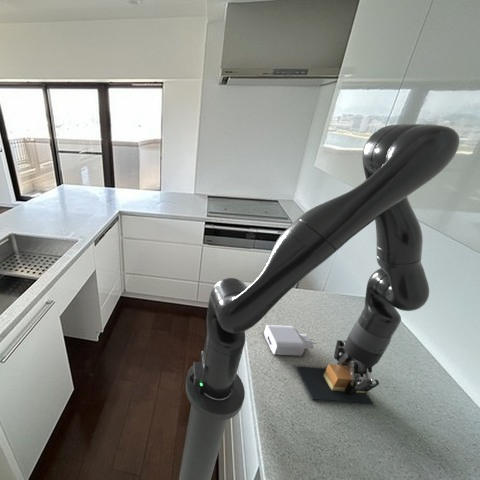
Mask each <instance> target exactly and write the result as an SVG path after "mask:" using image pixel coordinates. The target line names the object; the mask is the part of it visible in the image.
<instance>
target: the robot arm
mask: <svg viewBox="0 0 480 480" xmlns="http://www.w3.org/2000/svg"><path fill="white" fill-rule="evenodd" d="M459 147H460V135H459V133H458V132H457V131H456V130H455V129H454V128H452V127H449V126H446V125H441V124H440V125H439V124H425V123H424V124H422V123H421V124H419V123H417V124H415V123H413V124H411V123H399V124H398V123H397V124H388V125H385V126H383V127H381V128H379V129H377V130H376V131H374V133H372V134H371V135H370V137H369V138H368V139H367V141H366V142H365V144H364V147H363V149H362V153H361V155H362V156H361V160H362V166H363V172H364V176H365V180H364V181H363V182H362V183H360V184H359V185H357V186H356V187H354V188H352V189H351V190H349V191H348V192H346V193H343V194H341V195H339V196H336V197H334V198H332V199H330V200H327V201H325V202H323V203H320V204H318V205H316V206H314V207H313V208H311V209H309V210H307V211H305V212H304V213H303V214H301V215H300V216H299V217H298V218H297V219H296V220H295V221H293V223H291V224H290V225H289V226H288V227H287V228H286V229H285V230H284V231H282V233H281V234H280V235H279V237H278V238H277V240H276V241H275V243H274V245H273V247H272V249H271V251H270V253H269V257H268V259H267V260H266V263H265V265H264V266H263V269H262V271H261V272H260V274H259V275H258V277H257V278H255V279H254V280H253V281H252V283H251V284H250V285H249V286H247V284H246V283H245V282H243V281H242V280H240V279H239V278H235V277H226V278H223V279H221V280H219V281H218V282H217V283H216V284H214V286H213V288H212V289H211V291H210V294H209V298H208V305H207V313H206V336H205V342H204V348H203V350H202V351H201V353H200V358H199V361H193V365H192V366H193V373H192V374H190V376H189V379H190V381H191V382H192V383H194V387H199V393H200V394H203V395H205V396H206V397H207V398H209V399H211V400H213V401H225V400H227V399H228V398H229V397H230V396H231V394H232V390H233V385H234V381H235V378H236V374H237V375H238V370H239V366H240V362H241V359H242V355H243V352H244V347H245V344H246V340H247V339H246V338H247V337H246V336H247V335H246V331H248V330H250V329H251V328H253V327H255V326H256V325H257V324H258V323H259V322H260V321H261V320H262V319H263V318H264V317H265V316H266V315H267V314H268V313H269V312H270V311H271V310H272V309H273V308H274V307H275V306H276V305H277V303H279V301H280V300H281V299H283V297H285V295H286V294H288V293H289V292H290V291H291V290H292V289H293V288H294V287H295V286H297V285H298V284H299V283H300V282H302V280H304V279H305V277H307V276H308V275H309V274H310V273H312V272H313V271H314V270H315V269H316V268H318V267H319V266H321V265H322V264H324V263H325V262H326V261H327V260H328V259H330V257H332V256H333V255H334V254H335V253H336V252H337V251H339V250H340V249H341V248H342V247H343V246H344V245H346V243H348V242H349V241H350V240H352V239H353V238H354V237H355V236H356V235H357V234H359V233H360V232H361V231H363V230H364V229H365V228H367V227H368V226H369V225H370V224H371V223H373V222H375V233H376V234H375V235H376V237H375V238H376V240H375V241H376V243H375V245H376V262H377V264H378V266H379V267H380V268H378V269H376V270H375V271H374V272H373V273H372V274H371V275H370V276H369V278H368V280H367V283H366V290H365V296H364V297H365V298H364V308H363V309H362V311H361V313H360V316H359V317H358V319H357V320H356V321H355V323H354V325H353V326H352V327H351V330H350V332H349V334H348V336H347V338H346V340H344V339H343V340H342V339H337V340H336V344H335V349H334V353H333V358H334V360H336V365H347V366H349V368H350V373H349V375H350V376H351V379H350V383H348V385H347V387H346V389H345V390H344V391H345V392H346V394H353V395H354V394H356V392H357V391H364V392H366V393H368V392H369V391H371V390H373V389H374V388H376V387H377V386H379V385H380V382H379V380H378V379H375V378H374V376H373V375H372V372H373V367H374V366H375V365H377V364H378V363H379V362H380V360H381V359H382V357H383V355H384V353H385V352H386V350H387V349H388V347H389V346H390V344H391V340H392V339H393V336H394V334H395V333H396V331H397V329H398V328H399V326H400V324H401V322H402V316H401V314H400V313H399V311H398V310H400V311H403V312H413V311H417V310H419V309H421V308H422V307H423V306H425V305H426V303H427V302H428V300H429V297H430V286H429V282H428V279H427V276H426V272H425V269H424V266H423V264H422V257H423V256H422V254H423V243H424V239H423V231H422V227H421V224H420V221H419V220H418V218H417V215H416V213H415V211H414V210H413V207H412V205H411V203H410V201H409V198H408V196H410V195H412V194H413V193H414V192H416V191H417V190H419V189H420V188H421V187H423V186H425V185H426V184H427V183H429V182H430V181H431V180H432V179H434V178H435V177H436V176H438V175H439V174H440V173H441V172H443V170H445V168H446V167H447V166H448V165H449V164H450V163H451V162H452V161H453V159H454V157H455V156H456V154H457V152H458V149H459ZM355 373H356V374H355ZM192 377H193V378H192ZM356 379H358V381H356Z"/></svg>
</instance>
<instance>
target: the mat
mask: <svg viewBox="0 0 480 480" xmlns="http://www.w3.org/2000/svg"><path fill="white" fill-rule="evenodd" d="M326 369H327V367H326V368H324V367H313V366H312V367H311V366H300V365H299V366H298V365H297V366H296V370H297V371H298V374H299V375H300V378H301V379H302V382H303V384H304V386H305V388H306V390H307V392H308V394H309V396H310V397H311V400H312V401H318V402H319V401H321V402H332V403H333V402H334V403H345V404H346V403H347V404H360V405H374V402H373V401H372V399H371V398H370V396H369V395H368V394H367V392H364V393H359V392H356V394H354V395H353V394H346V392H345V391H333V390H331V388H330V387H329V385H328V383H327V382H326V380H325V378H324V376H323V375H324V373H325V371H326Z"/></svg>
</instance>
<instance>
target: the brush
mask: <svg viewBox="0 0 480 480" xmlns="http://www.w3.org/2000/svg"><path fill="white" fill-rule="evenodd" d="M349 373H350V368H349V366H347V365H337V364H335V363H334V364H333V363H332V364H331V363H328V364H327V367H326V371H325V373H324V375H323V376H324V378H325V380H326V382H327V383H328V385H329V387H330V388H331V390H333V391H344V390H345V389H346V387H347V385H348V383H350V379H351V376H350V375H349ZM355 374H356V373H355ZM356 381H358V379H356ZM357 392H359V393H364V391H357Z"/></svg>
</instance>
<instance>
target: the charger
mask: <svg viewBox="0 0 480 480" xmlns="http://www.w3.org/2000/svg"><path fill="white" fill-rule="evenodd" d="M263 335H264V338H265V340H266V342H267V345H268V346H269V348H270V351H271V353H272V354H273V355H278V356H282V355H283V356H303V354H304V352H305V350H306V349H314V345H317V342H315V341H313V340H315V338H313V337H309V336H308V335H307V334H306V333H300V332H299V331H298V330H297V328H296V327H294V326H292V325H277V324H275V325H274V324H266V325H265V329H264V332H263Z"/></svg>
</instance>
